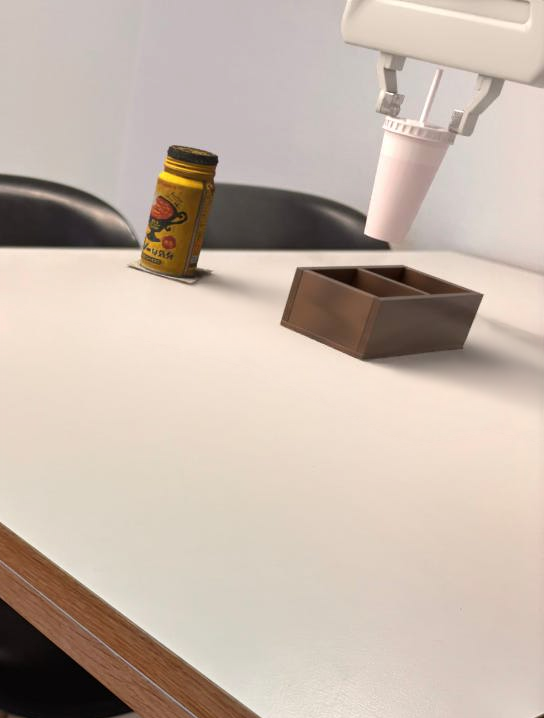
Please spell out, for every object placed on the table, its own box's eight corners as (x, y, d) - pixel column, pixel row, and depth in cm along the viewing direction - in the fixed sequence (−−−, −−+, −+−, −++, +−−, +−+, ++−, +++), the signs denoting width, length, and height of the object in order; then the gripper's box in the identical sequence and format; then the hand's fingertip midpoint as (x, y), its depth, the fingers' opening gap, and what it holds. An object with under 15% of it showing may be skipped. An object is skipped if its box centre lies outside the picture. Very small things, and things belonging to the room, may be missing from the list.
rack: (463, 347, 110) (484, 294, 107) (361, 360, 98) (382, 300, 95) (384, 316, 115) (402, 264, 112) (279, 324, 103) (296, 266, 100)
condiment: (125, 266, 112) (151, 143, 106) (152, 255, 119) (178, 139, 113) (189, 285, 110) (220, 161, 104) (213, 273, 117) (243, 156, 111)
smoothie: (349, 234, 96) (404, 61, 89) (349, 224, 102) (401, 60, 94) (419, 252, 96) (481, 78, 88) (416, 240, 101) (473, 76, 94)
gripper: (620, -37, 82) (545, 155, 90) (399, -70, 94) (348, 102, 101) (586, -51, 78) (510, 150, 86) (360, -84, 90) (309, 96, 97)
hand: (421, 124), depth 94 cm, fingers closed on smoothie, 6 cm apart
